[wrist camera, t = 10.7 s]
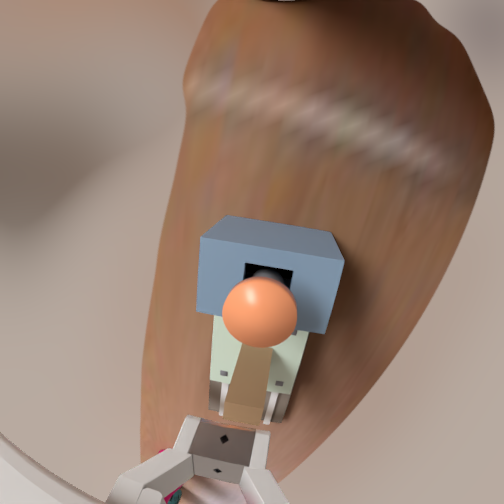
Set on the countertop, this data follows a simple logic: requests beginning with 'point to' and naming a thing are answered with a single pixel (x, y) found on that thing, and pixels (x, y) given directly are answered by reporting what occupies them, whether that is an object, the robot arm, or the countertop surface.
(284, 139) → the countertop surface
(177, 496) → the beverage bottle
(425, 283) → the countertop surface
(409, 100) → the countertop surface
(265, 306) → the orange rounded knob
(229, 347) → the carriage
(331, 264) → the blue side pieces
